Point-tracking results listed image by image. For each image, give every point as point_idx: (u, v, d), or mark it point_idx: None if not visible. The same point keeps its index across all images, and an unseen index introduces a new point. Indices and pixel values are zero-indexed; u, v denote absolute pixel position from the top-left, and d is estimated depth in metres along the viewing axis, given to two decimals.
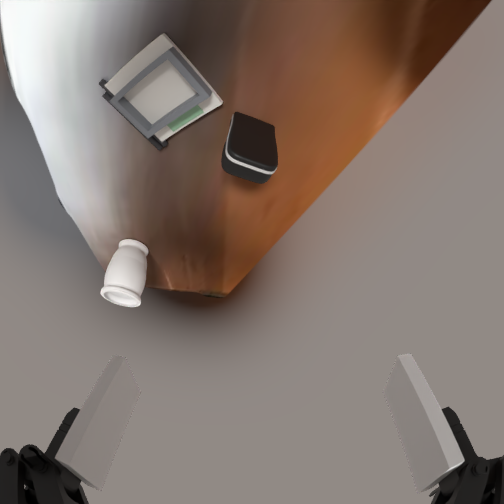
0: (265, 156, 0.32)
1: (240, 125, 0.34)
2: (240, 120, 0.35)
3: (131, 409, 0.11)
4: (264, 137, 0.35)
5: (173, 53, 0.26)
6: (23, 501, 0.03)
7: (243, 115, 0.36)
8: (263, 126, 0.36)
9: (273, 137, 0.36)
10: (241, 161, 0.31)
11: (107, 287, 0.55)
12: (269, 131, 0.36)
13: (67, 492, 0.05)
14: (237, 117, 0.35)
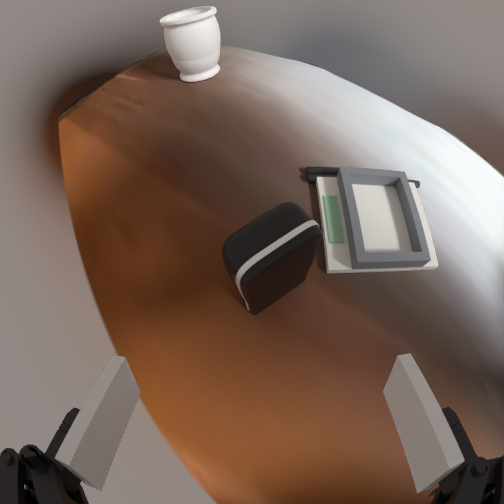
0: (268, 277, 0.18)
1: (302, 273, 0.24)
2: (302, 277, 0.25)
3: (131, 409, 0.11)
4: (270, 292, 0.22)
5: (423, 261, 0.25)
6: (23, 501, 0.03)
7: (296, 285, 0.26)
8: (270, 301, 0.25)
9: (256, 305, 0.23)
10: (300, 233, 0.17)
11: (213, 12, 0.32)
12: (262, 305, 0.24)
13: (67, 492, 0.05)
14: (305, 276, 0.25)
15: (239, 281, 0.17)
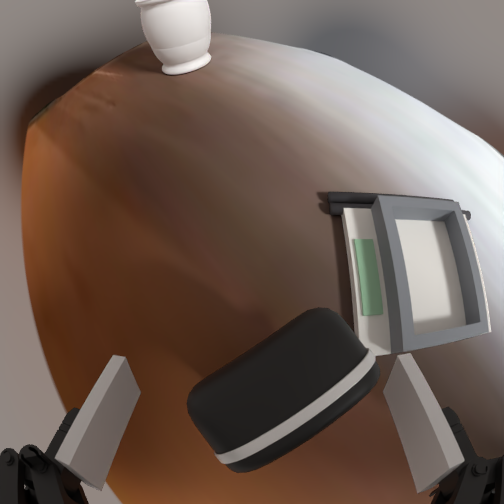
0: None
1: None
2: None
3: (131, 409, 0.11)
4: None
5: (480, 334, 0.15)
6: (23, 501, 0.03)
7: None
8: None
9: None
10: (343, 395, 0.07)
11: None
12: None
13: (67, 492, 0.05)
14: None
15: None
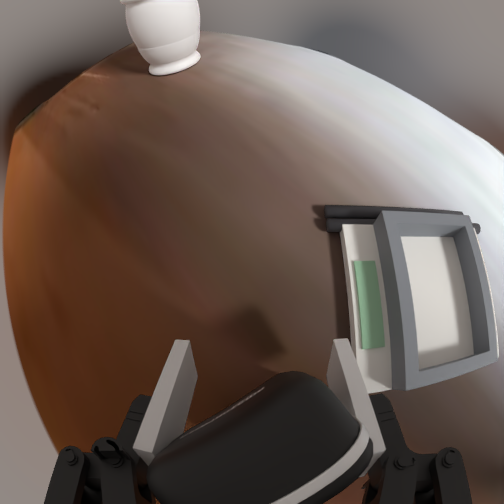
0: None
1: None
2: None
3: (191, 393, 0.12)
4: None
5: (488, 363, 0.12)
6: None
7: None
8: None
9: None
10: (324, 487, 0.05)
11: None
12: None
13: None
14: None
15: None
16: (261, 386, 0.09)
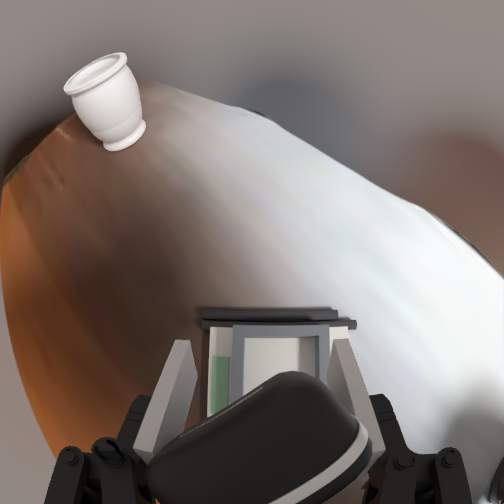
0: None
1: None
2: None
3: (191, 393, 0.12)
4: None
5: None
6: None
7: None
8: None
9: None
10: (323, 486, 0.05)
11: (118, 67, 0.27)
12: None
13: None
14: None
15: None
16: (260, 386, 0.09)
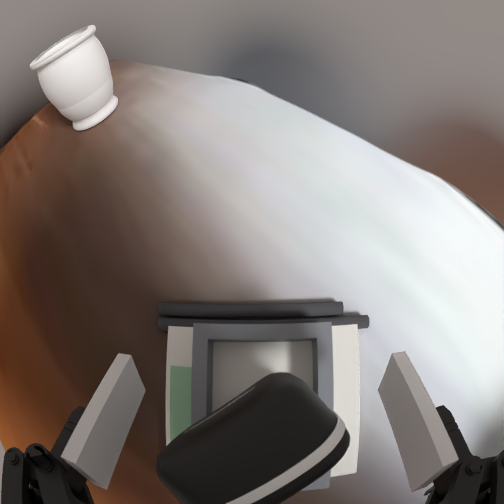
0: None
1: None
2: None
3: (136, 407, 0.11)
4: None
5: None
6: (28, 501, 0.03)
7: None
8: None
9: None
10: (305, 471, 0.06)
11: (84, 36, 0.20)
12: None
13: (72, 491, 0.05)
14: None
15: None
16: (253, 385, 0.10)
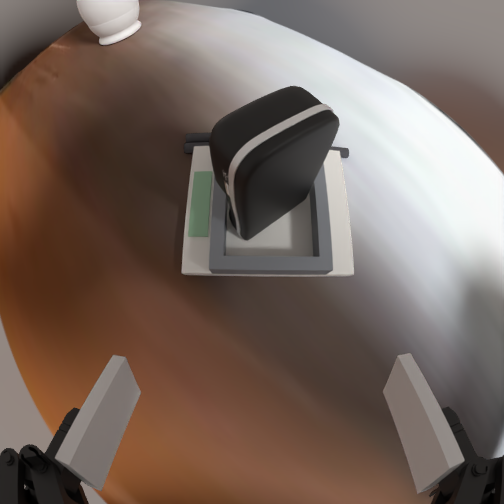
0: (273, 172, 0.13)
1: (306, 184, 0.19)
2: (304, 192, 0.20)
3: (131, 409, 0.11)
4: (269, 205, 0.17)
5: (321, 270, 0.20)
6: (23, 501, 0.03)
7: (297, 204, 0.22)
8: (267, 221, 0.20)
9: (251, 223, 0.18)
10: (314, 115, 0.12)
11: None
12: (257, 225, 0.19)
13: (67, 492, 0.05)
14: (307, 192, 0.21)
15: (233, 175, 0.12)
16: None
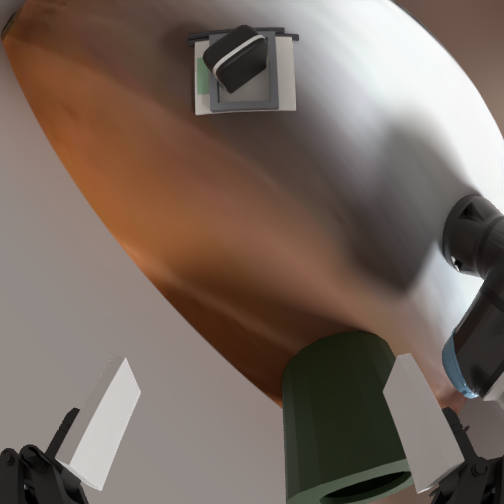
0: (233, 68, 0.24)
1: (260, 64, 0.28)
2: (261, 66, 0.29)
3: (131, 409, 0.11)
4: (238, 77, 0.28)
5: (272, 107, 0.32)
6: (23, 501, 0.03)
7: (259, 72, 0.31)
8: (241, 83, 0.30)
9: (230, 86, 0.29)
10: (250, 43, 0.21)
11: None
12: (234, 86, 0.30)
13: (67, 492, 0.05)
14: (264, 66, 0.29)
15: (215, 73, 0.23)
16: None
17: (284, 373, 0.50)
